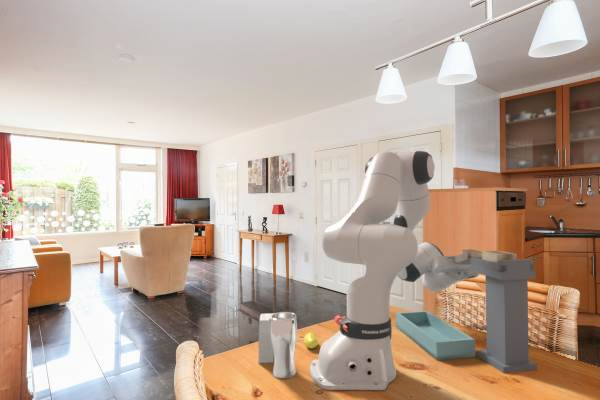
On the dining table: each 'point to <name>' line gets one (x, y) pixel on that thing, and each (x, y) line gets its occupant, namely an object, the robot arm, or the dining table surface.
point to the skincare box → (265, 339)
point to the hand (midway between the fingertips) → (474, 254)
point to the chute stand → (506, 313)
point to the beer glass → (284, 343)
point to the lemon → (310, 340)
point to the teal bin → (435, 335)
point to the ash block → (491, 255)
